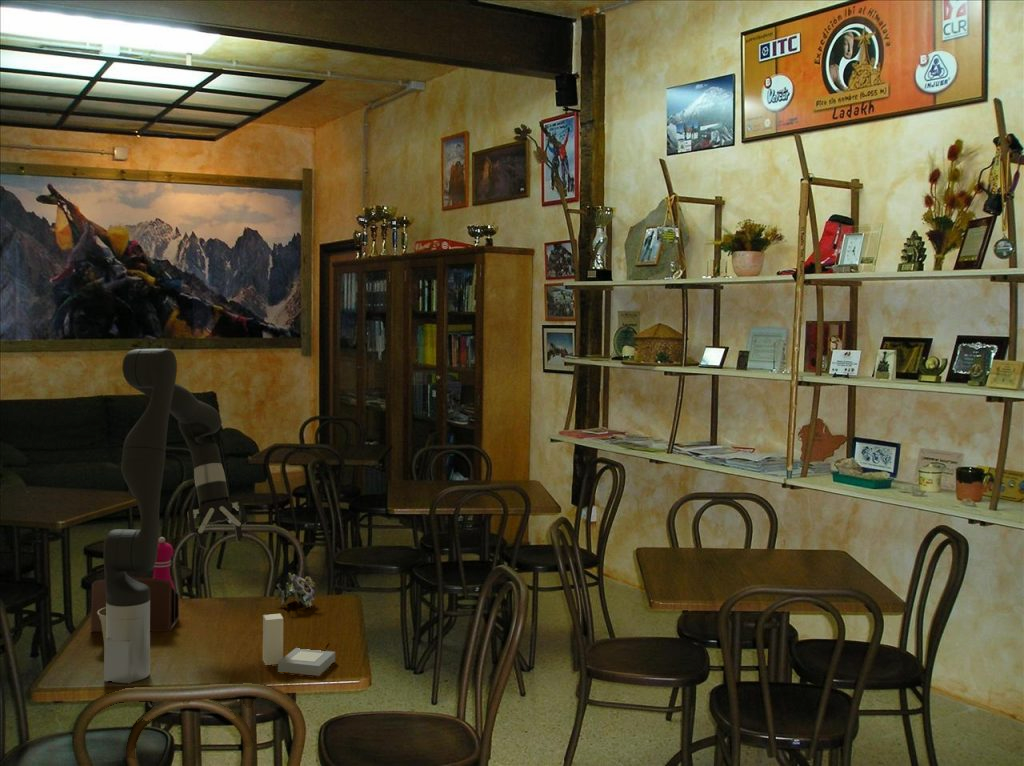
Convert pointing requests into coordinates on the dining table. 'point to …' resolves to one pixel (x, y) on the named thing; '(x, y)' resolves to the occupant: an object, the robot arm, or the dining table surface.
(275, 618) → the pillar
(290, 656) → the slab
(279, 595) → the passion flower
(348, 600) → the dining table surface
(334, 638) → the dining table surface
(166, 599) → the letter holder
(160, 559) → the pepper mill
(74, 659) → the dining table surface
